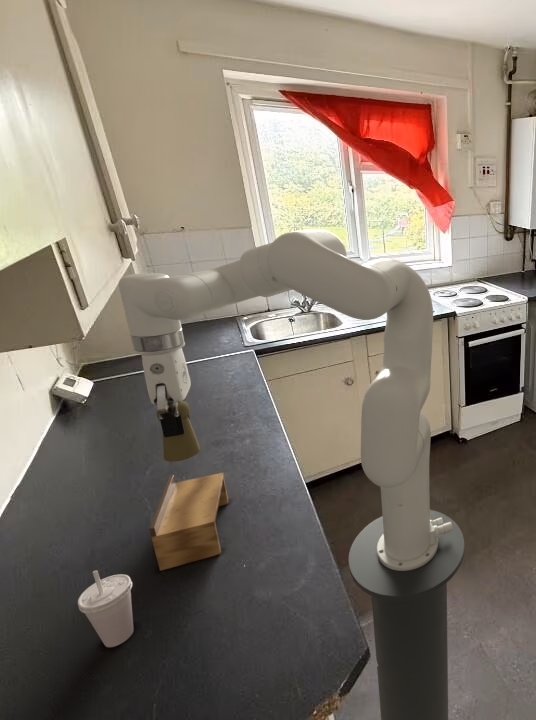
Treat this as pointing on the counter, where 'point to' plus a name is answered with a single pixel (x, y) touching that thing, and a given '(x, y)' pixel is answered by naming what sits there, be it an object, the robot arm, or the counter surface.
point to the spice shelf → (188, 520)
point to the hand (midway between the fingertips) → (177, 427)
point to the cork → (181, 438)
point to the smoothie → (109, 608)
